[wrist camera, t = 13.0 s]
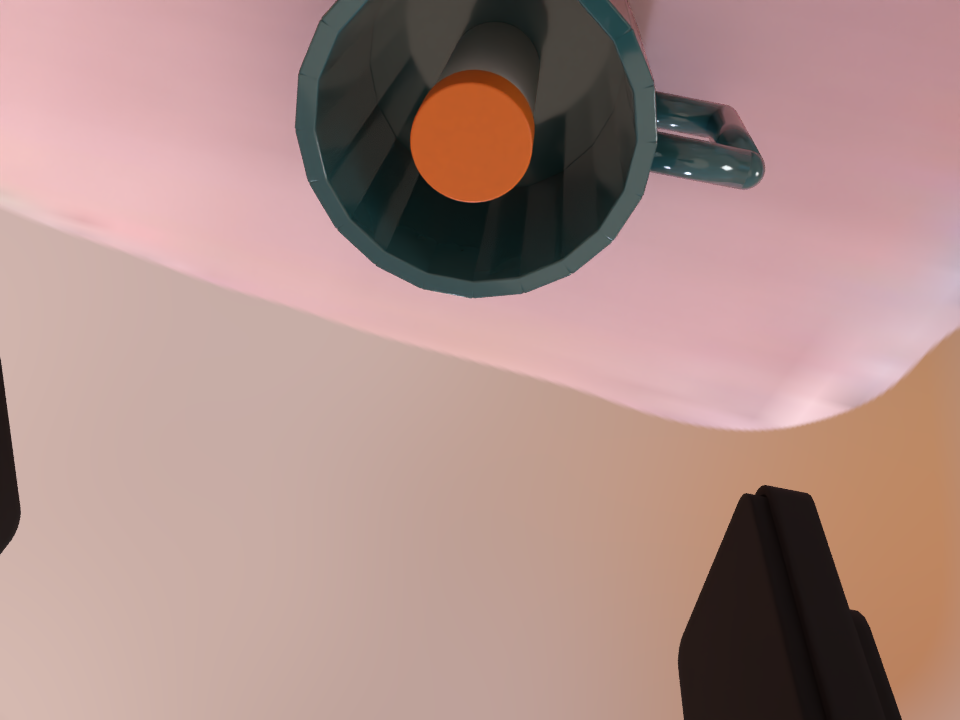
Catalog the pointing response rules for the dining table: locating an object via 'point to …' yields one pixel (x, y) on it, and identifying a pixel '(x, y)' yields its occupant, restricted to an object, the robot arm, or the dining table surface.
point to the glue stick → (479, 116)
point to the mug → (556, 147)
